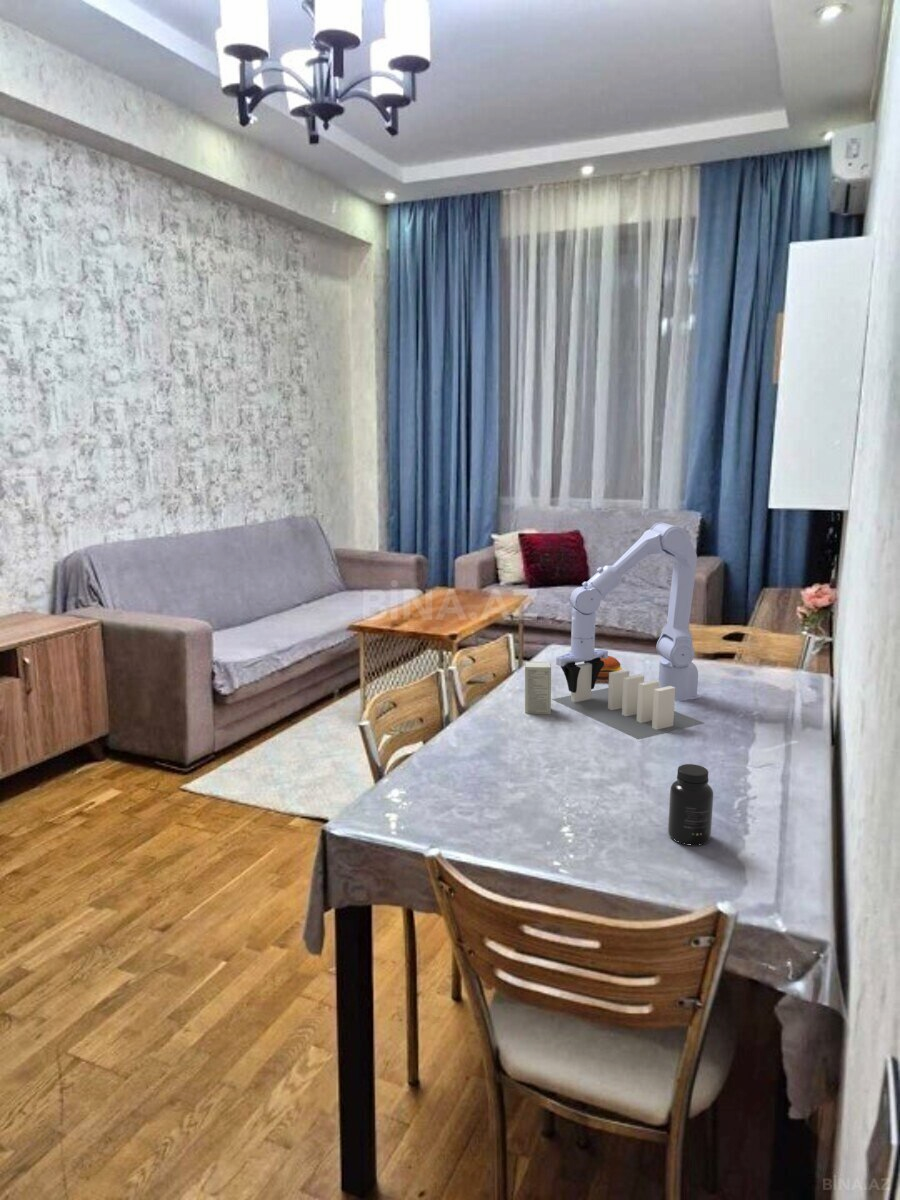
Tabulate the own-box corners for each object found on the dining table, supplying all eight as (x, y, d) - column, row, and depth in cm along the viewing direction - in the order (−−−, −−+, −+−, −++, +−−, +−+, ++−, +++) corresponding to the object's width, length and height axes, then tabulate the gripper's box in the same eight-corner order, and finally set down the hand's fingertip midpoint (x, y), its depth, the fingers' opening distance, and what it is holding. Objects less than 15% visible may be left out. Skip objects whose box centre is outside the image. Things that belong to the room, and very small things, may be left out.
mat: (613, 688, 213) (613, 686, 213) (704, 725, 186) (704, 722, 186) (551, 701, 203) (551, 699, 203) (638, 741, 177) (638, 739, 177)
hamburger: (614, 674, 226) (615, 651, 225) (623, 685, 217) (624, 661, 215) (580, 674, 226) (581, 651, 224) (587, 685, 216) (588, 661, 215)
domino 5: (651, 727, 183) (653, 689, 182) (668, 723, 186) (670, 685, 184) (656, 729, 182) (658, 691, 180) (673, 725, 185) (675, 687, 183)
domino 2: (607, 708, 196) (609, 672, 194) (623, 704, 199) (625, 669, 197) (611, 710, 195) (613, 674, 193) (627, 706, 197) (629, 670, 195)
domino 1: (571, 700, 202) (572, 665, 200) (586, 697, 204) (588, 662, 202) (574, 702, 201) (576, 667, 199) (590, 699, 203) (592, 664, 201)
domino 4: (636, 720, 188) (638, 683, 186) (652, 717, 190) (654, 680, 188) (641, 722, 186) (642, 685, 185) (657, 719, 189) (659, 681, 187)
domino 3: (621, 714, 192) (623, 677, 190) (637, 710, 194) (639, 674, 192) (626, 716, 191) (627, 679, 189) (642, 712, 193) (644, 676, 191)
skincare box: (550, 710, 197) (551, 661, 194) (550, 716, 192) (552, 667, 190) (524, 709, 197) (525, 661, 195) (524, 715, 193) (524, 666, 191)
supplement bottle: (661, 828, 138) (665, 761, 136) (700, 826, 139) (705, 760, 137) (676, 848, 132) (680, 778, 129) (717, 846, 132) (722, 777, 130)
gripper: (595, 629, 206) (593, 681, 209) (549, 636, 199) (547, 689, 202) (614, 635, 200) (612, 688, 203) (567, 643, 193) (565, 697, 196)
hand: (581, 689), depth 202 cm, fingers closed on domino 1, 5 cm apart
